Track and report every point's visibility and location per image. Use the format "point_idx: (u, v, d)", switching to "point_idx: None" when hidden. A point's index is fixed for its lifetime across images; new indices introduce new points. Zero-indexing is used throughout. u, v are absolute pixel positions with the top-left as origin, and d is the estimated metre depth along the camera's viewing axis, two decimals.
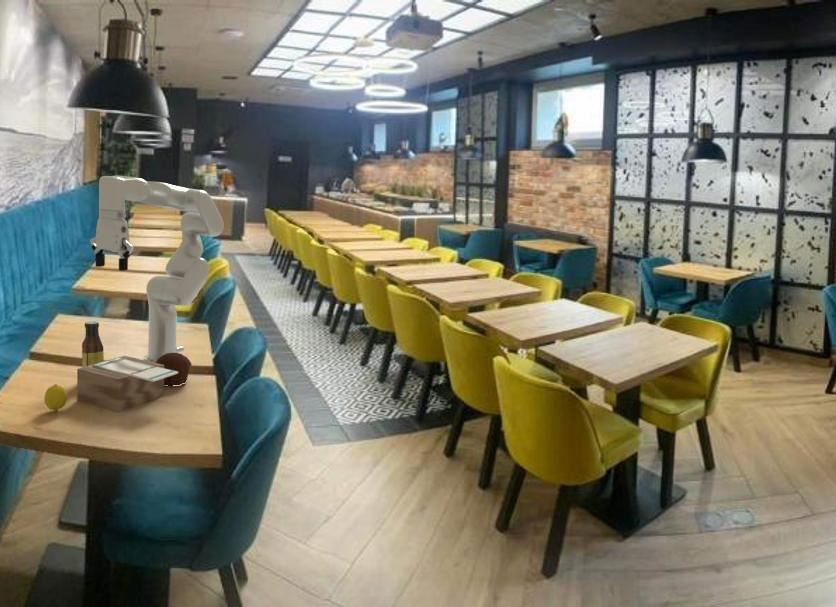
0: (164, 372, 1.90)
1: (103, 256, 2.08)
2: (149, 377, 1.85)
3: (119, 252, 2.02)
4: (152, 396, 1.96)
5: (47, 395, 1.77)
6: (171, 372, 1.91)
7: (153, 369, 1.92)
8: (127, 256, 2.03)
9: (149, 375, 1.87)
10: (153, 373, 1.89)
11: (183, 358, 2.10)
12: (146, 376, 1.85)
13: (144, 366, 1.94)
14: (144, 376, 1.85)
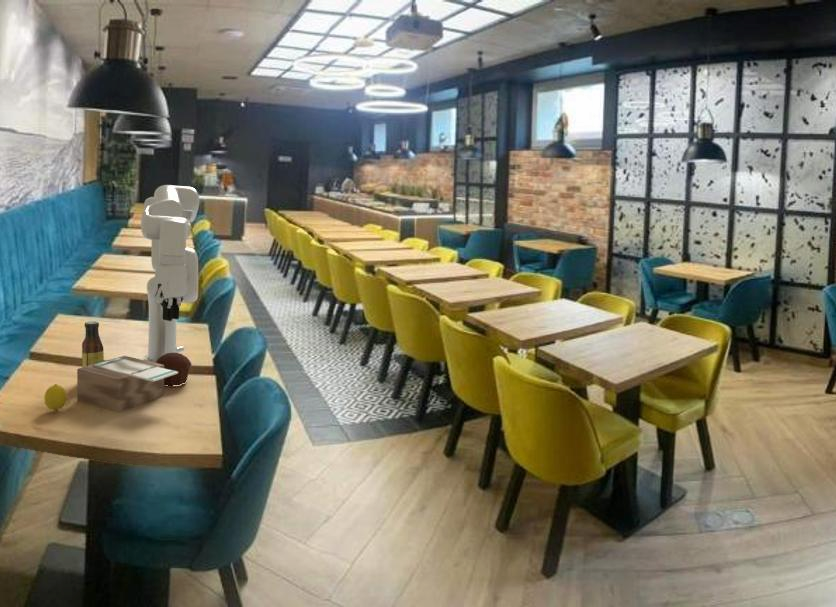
0: (164, 372, 1.90)
1: None
2: (149, 377, 1.85)
3: (179, 299, 1.96)
4: (152, 396, 1.96)
5: (47, 395, 1.77)
6: (171, 372, 1.91)
7: (153, 369, 1.92)
8: None
9: (149, 375, 1.87)
10: (153, 373, 1.89)
11: (183, 358, 2.10)
12: (146, 376, 1.85)
13: (144, 366, 1.94)
14: (144, 376, 1.85)
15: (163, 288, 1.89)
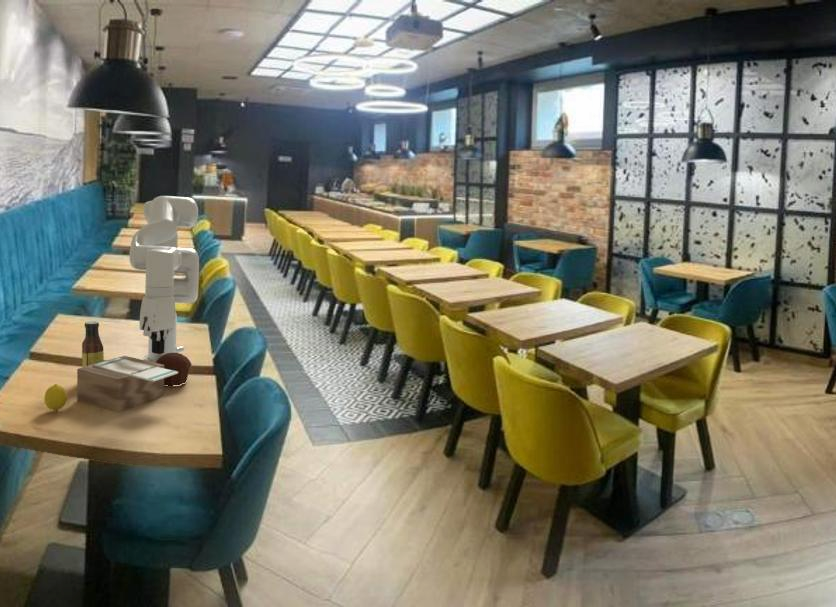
0: (164, 372, 1.90)
1: None
2: (149, 377, 1.85)
3: (165, 332, 1.87)
4: (152, 396, 1.96)
5: (47, 395, 1.77)
6: (171, 372, 1.91)
7: (153, 369, 1.92)
8: None
9: (149, 375, 1.87)
10: (153, 373, 1.89)
11: (183, 358, 2.10)
12: (146, 376, 1.85)
13: (144, 366, 1.94)
14: (144, 376, 1.85)
15: (149, 321, 1.80)
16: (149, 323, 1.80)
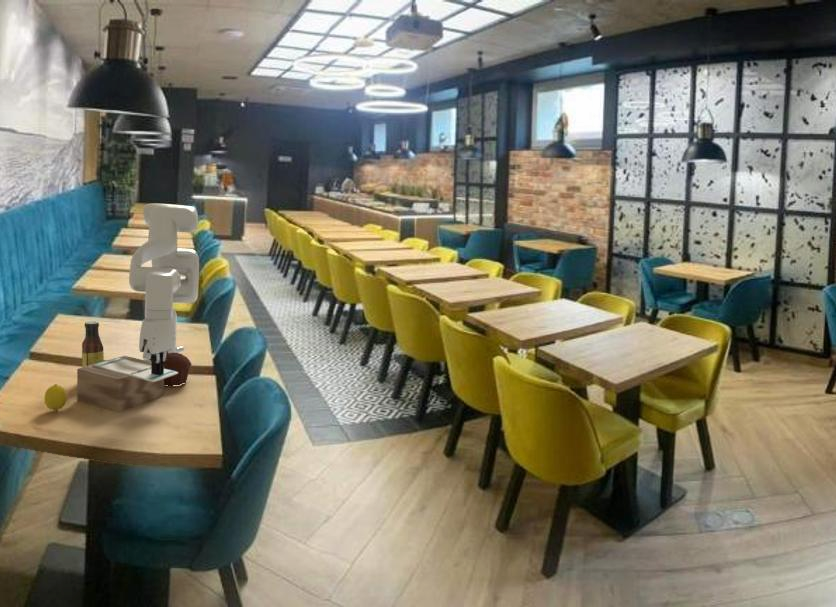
0: (164, 372, 1.90)
1: None
2: (149, 377, 1.85)
3: (165, 354, 1.88)
4: (152, 396, 1.96)
5: (47, 395, 1.77)
6: (171, 372, 1.91)
7: None
8: None
9: (149, 375, 1.87)
10: None
11: (183, 358, 2.10)
12: (146, 376, 1.85)
13: (144, 366, 1.94)
14: (144, 376, 1.85)
15: (149, 344, 1.82)
16: (149, 346, 1.82)
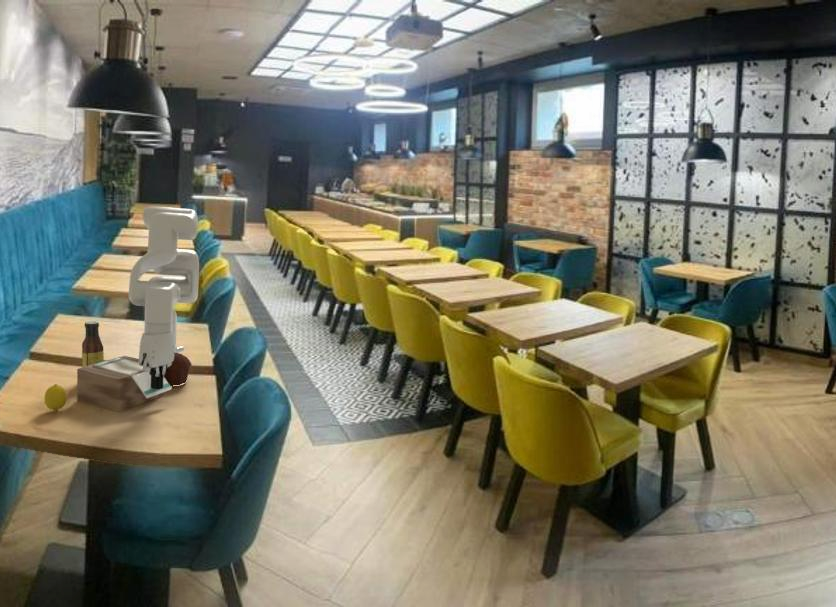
0: None
1: None
2: (145, 389, 1.86)
3: (164, 367, 1.88)
4: (152, 396, 1.96)
5: (47, 395, 1.77)
6: (166, 387, 1.92)
7: None
8: None
9: (146, 384, 1.88)
10: (150, 381, 1.89)
11: (183, 358, 2.10)
12: (143, 386, 1.86)
13: None
14: (141, 385, 1.86)
15: (148, 357, 1.82)
16: (148, 359, 1.82)
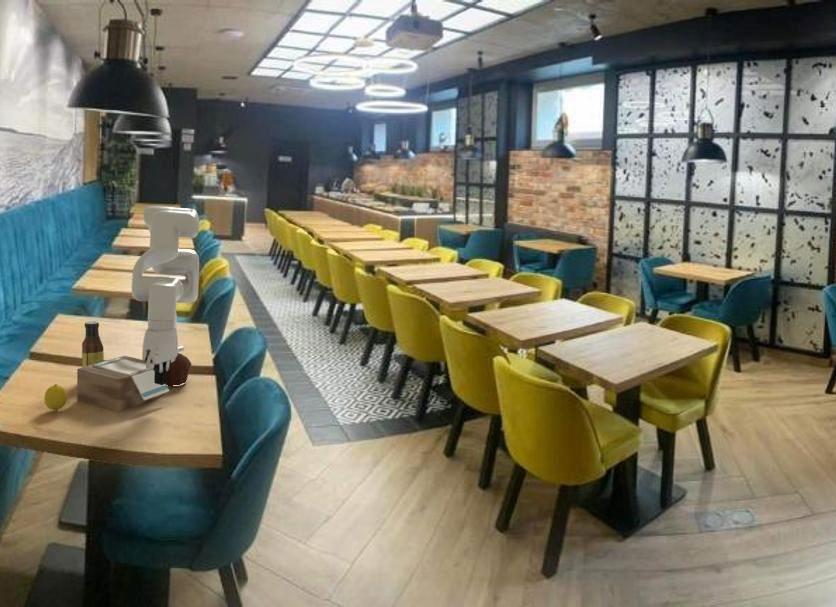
0: (158, 386, 1.92)
1: None
2: (143, 391, 1.86)
3: (168, 363, 1.89)
4: None
5: (47, 395, 1.77)
6: (163, 389, 1.93)
7: (152, 372, 1.92)
8: None
9: (145, 385, 1.88)
10: (149, 382, 1.90)
11: (183, 358, 2.10)
12: (142, 387, 1.86)
13: (144, 366, 1.94)
14: (140, 386, 1.86)
15: (152, 354, 1.82)
16: (152, 356, 1.82)
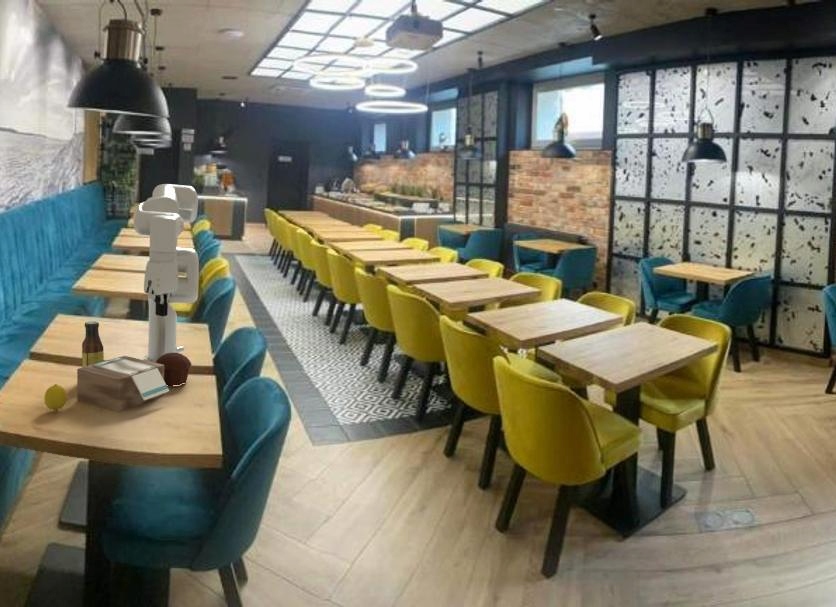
0: (158, 386, 1.92)
1: None
2: (143, 391, 1.86)
3: (169, 296, 1.95)
4: None
5: (47, 395, 1.77)
6: (163, 389, 1.93)
7: (152, 372, 1.92)
8: None
9: (145, 385, 1.88)
10: (149, 382, 1.90)
11: (183, 358, 2.10)
12: (142, 387, 1.86)
13: (144, 366, 1.94)
14: (140, 386, 1.86)
15: (153, 285, 1.88)
16: (153, 287, 1.88)
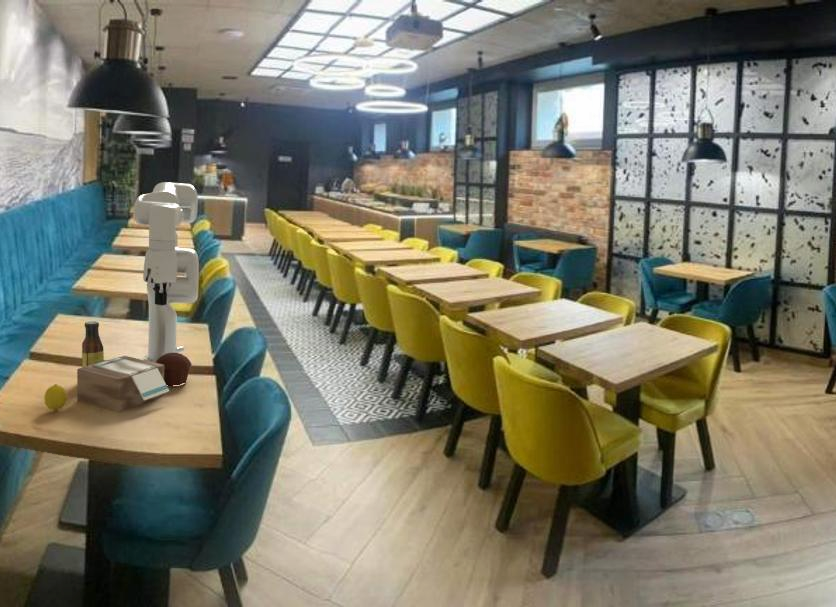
0: (158, 386, 1.92)
1: None
2: (143, 391, 1.86)
3: (168, 285, 1.96)
4: None
5: (47, 395, 1.77)
6: (163, 389, 1.93)
7: (152, 372, 1.92)
8: None
9: (145, 385, 1.88)
10: (149, 382, 1.90)
11: (183, 358, 2.10)
12: (142, 387, 1.86)
13: (144, 366, 1.94)
14: (140, 386, 1.86)
15: (153, 273, 1.89)
16: (152, 275, 1.89)
